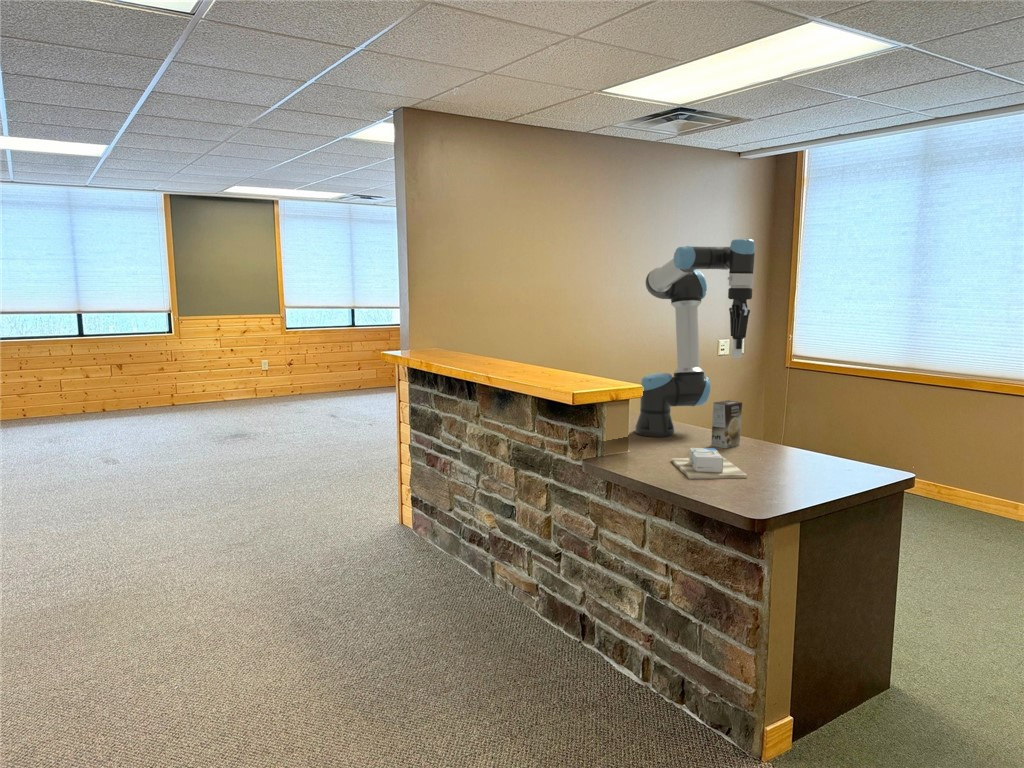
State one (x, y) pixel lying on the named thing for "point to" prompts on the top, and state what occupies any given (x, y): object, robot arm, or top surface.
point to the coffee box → (726, 424)
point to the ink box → (706, 460)
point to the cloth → (689, 471)
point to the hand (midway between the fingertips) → (736, 358)
